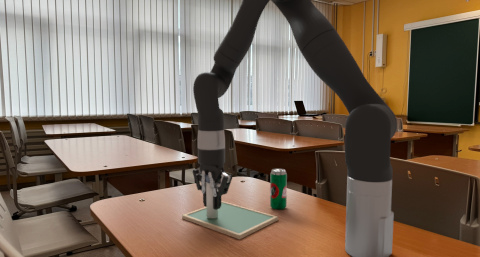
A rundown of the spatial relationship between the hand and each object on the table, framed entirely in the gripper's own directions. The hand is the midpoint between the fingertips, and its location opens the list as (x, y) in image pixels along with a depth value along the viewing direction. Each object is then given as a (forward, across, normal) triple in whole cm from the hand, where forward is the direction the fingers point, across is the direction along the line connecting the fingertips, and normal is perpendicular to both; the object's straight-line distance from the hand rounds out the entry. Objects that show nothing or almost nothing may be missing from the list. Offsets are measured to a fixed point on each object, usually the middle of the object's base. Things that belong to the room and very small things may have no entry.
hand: (212, 207), depth 96 cm
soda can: (+4, -8, -21) cm, 23 cm away
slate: (+4, -3, -4) cm, 6 cm away
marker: (+3, 0, 0) cm, 3 cm away
